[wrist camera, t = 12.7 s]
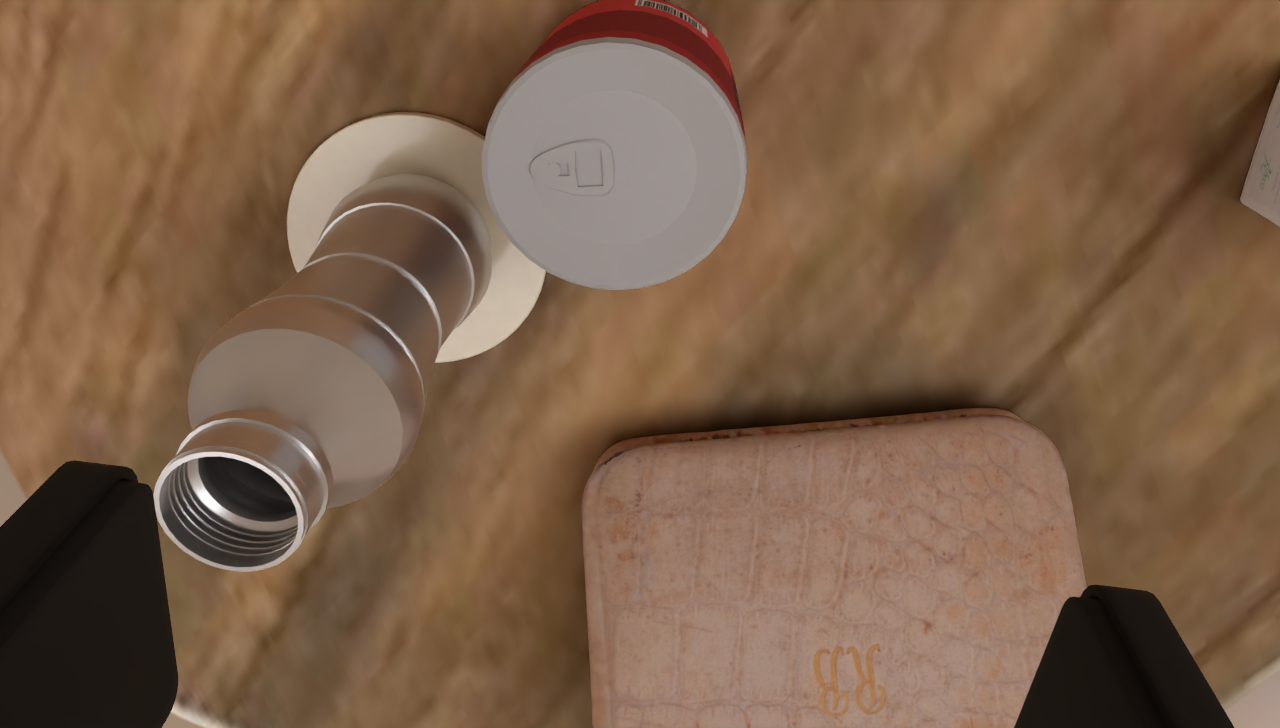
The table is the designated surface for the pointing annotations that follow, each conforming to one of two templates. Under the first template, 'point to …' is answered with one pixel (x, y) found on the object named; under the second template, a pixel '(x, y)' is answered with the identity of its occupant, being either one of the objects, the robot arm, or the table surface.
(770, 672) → the case
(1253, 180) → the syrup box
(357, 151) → the coaster
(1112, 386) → the table surface
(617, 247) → the canned food
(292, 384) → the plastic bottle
